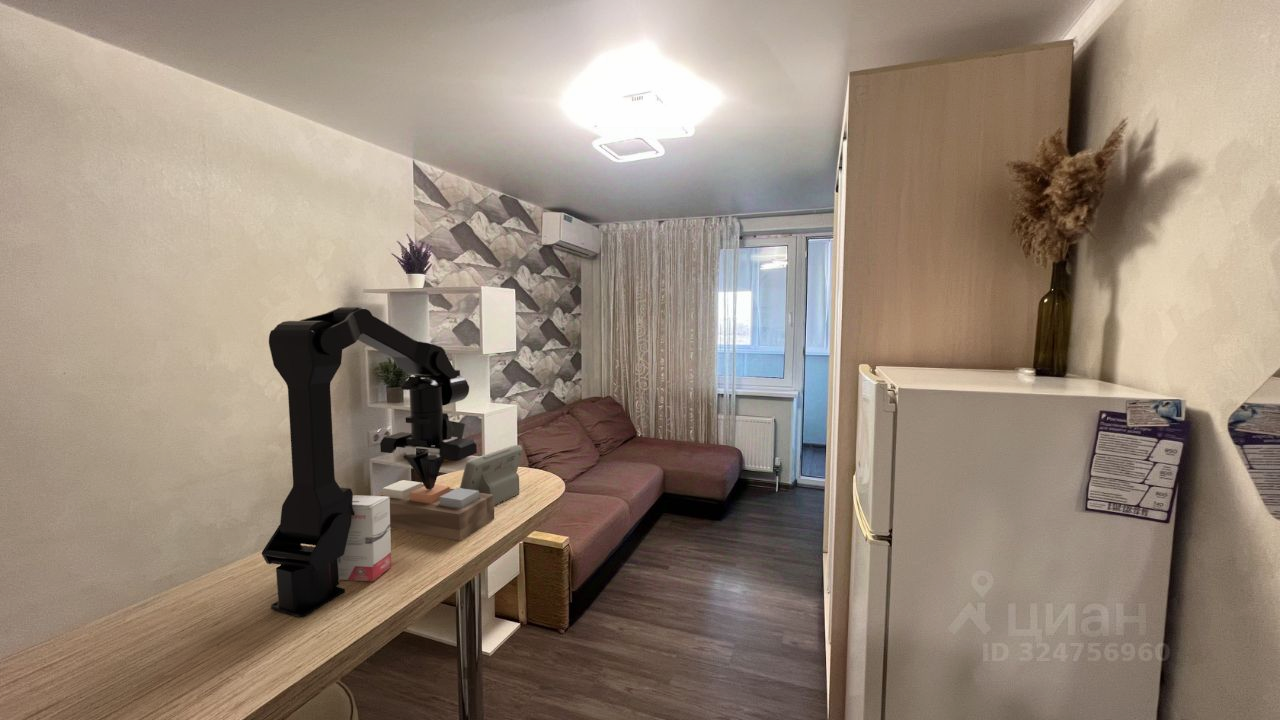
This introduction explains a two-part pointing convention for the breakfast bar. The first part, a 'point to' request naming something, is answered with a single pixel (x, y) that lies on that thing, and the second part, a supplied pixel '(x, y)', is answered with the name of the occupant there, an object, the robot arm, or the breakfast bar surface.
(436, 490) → the terracotta key
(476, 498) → the grey key
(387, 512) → the ink box
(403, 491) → the cream key
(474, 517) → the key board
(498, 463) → the digital clock
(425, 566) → the breakfast bar surface
